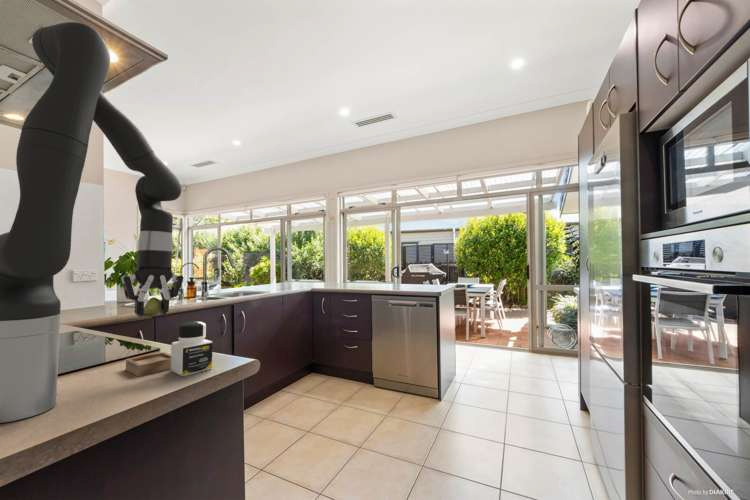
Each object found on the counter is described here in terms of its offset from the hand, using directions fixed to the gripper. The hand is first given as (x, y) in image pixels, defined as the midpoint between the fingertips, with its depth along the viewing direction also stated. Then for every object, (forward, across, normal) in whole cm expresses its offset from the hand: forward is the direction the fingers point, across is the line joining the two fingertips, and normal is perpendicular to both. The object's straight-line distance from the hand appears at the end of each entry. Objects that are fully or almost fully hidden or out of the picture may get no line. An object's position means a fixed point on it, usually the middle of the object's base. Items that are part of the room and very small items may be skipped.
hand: (151, 315), depth 83 cm
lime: (+1, 0, 0) cm, 1 cm away
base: (+14, -1, 0) cm, 14 cm away
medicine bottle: (+14, -6, +9) cm, 18 cm away
